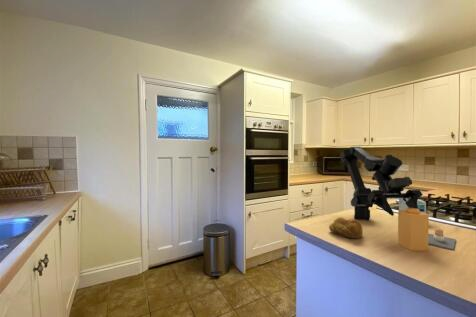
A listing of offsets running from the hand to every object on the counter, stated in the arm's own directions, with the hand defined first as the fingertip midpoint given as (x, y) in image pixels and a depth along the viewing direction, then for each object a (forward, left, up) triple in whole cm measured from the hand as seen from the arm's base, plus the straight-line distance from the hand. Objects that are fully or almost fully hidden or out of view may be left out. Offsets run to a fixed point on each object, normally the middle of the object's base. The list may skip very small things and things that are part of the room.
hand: (405, 215), depth 80 cm
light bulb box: (+9, +33, -11) cm, 36 cm away
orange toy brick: (+1, -3, -10) cm, 11 cm away
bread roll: (-20, 0, -11) cm, 23 cm away
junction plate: (+11, +6, -10) cm, 17 cm away
